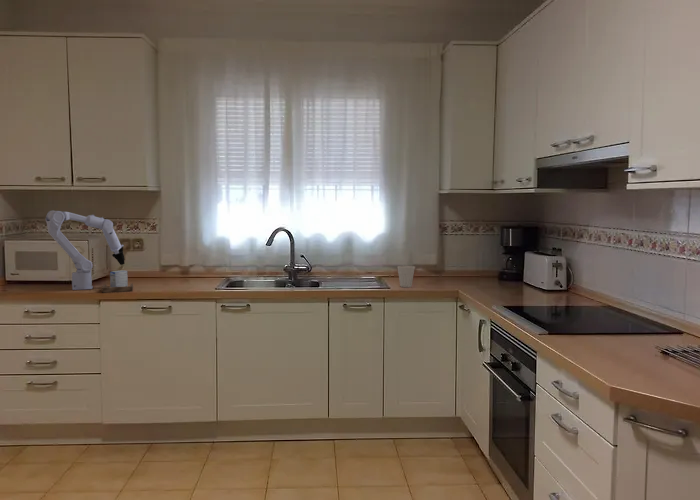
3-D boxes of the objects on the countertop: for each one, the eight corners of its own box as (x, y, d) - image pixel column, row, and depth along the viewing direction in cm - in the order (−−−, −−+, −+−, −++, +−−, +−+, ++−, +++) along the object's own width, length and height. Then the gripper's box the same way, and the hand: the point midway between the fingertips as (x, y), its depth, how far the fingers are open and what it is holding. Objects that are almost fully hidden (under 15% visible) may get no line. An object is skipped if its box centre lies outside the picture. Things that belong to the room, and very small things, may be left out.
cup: (409, 285, 333) (410, 265, 332) (418, 287, 324) (418, 267, 323) (393, 285, 330) (393, 266, 329) (401, 288, 320) (401, 268, 319)
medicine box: (122, 285, 326) (122, 270, 325) (128, 286, 324) (127, 270, 323) (110, 287, 319) (109, 271, 318) (115, 288, 317) (115, 272, 316)
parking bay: (102, 292, 302) (102, 287, 302) (103, 289, 313) (103, 284, 313) (132, 291, 307) (132, 286, 307) (133, 288, 318) (133, 283, 317)
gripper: (119, 240, 317) (129, 263, 322) (120, 234, 331) (130, 256, 335) (106, 245, 316) (116, 268, 320) (107, 239, 329) (117, 261, 333)
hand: (122, 262), depth 328 cm, fingers open, 7 cm apart
